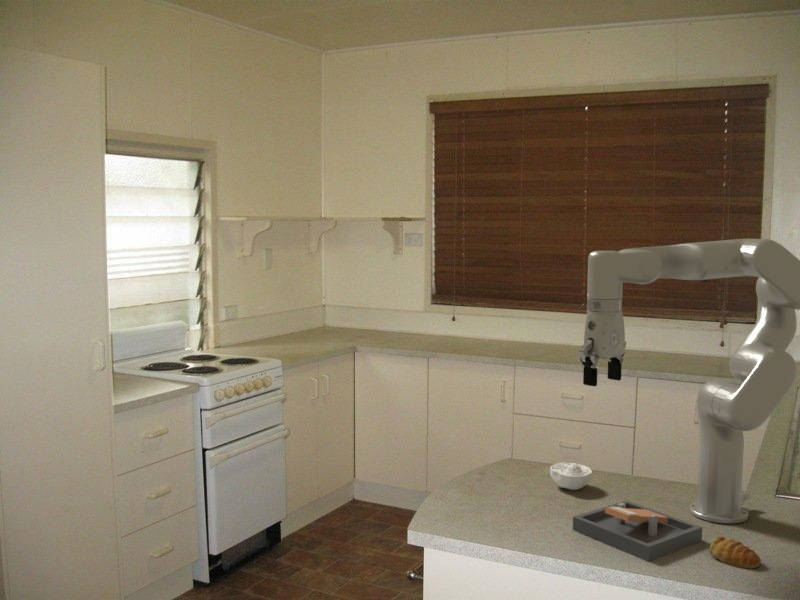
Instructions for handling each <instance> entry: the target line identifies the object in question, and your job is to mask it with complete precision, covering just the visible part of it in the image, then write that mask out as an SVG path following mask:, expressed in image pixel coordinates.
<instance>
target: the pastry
mask: <svg viewBox="0 0 800 600" xmlns="http://www.w3.org/2000/svg"><path fill="white" fill-rule="evenodd" d="M708 553H709V554H710V555H711V556H712V557H713V559H714V560H719V561H720V562H721V563H724V564H728V565H731V566H735V567H739V568H743V569H754V568H755V569H756V568H758V567H759V566H760V563H761V561H762V559H761V558H760V556H759V555H758V554H757V553H756V552H755V551H754V550H753V549H750V547H749V546H746V545H744V544H743V543H742V542H741V541H738V540H737V541H736V540H735V539H733V538H729V539H728V538H725V536H721V535H720V536H717V537H715V538H714V540H712V542H711V544H710V547H709V551H708Z"/></svg>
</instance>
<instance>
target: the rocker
mask: <svg viewBox="0 0 800 600" xmlns="http://www.w3.org/2000/svg"><path fill="white" fill-rule="evenodd" d="M605 507H606V506H605ZM605 513H607V514H609V515H612V516H615V517H617V518H620V519H623V520H625V521H632V522H649V515H652V514H655V515H658V520H657V523H667V522H668V517H665V516H663V515H660V514H657V513H654V512H651V511H648V510H646V509H629V508H620V507H606V508H605Z"/></svg>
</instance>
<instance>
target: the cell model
mask: <svg viewBox="0 0 800 600" xmlns="http://www.w3.org/2000/svg"><path fill="white" fill-rule="evenodd" d="M549 474H550V475H549V476H550V477H551V478H552V480H553V481H554V483H556V485H557V486H558V487H560V488H562V489H566V490H570V491H577V490H580V489H582V488H584V487H585V486H586V485H588V483H590V481H591V479H592V474H593V470H592V469H591V468H590V467H589V466H587V465H584V464H579V463H574V462H568V461H562V462H557V463H555V464H552V465H550V472H549Z"/></svg>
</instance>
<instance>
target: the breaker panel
mask: <svg viewBox="0 0 800 600" xmlns="http://www.w3.org/2000/svg"><path fill="white" fill-rule="evenodd" d="M606 507H620V508H629V509H646V510H648V511H651V512H654V513H657V514H660V515H663V516H665V517H668V522H667V523H657V520H658V515H655V514H652V515H649V522H632V521H625V520H623V519H620V518H617V517H615V516H612V515H609V514H607V513H605V508H606ZM572 530H573V531H574V530H575V531H574V532H577V531H578V532H577V533H579V532H580V534H581V533H582V535H584V536H587V537H589V538H591V539H594V540H596V541H598V542H601V543H603V544H605V545H608V546H611V547H612V548H615V549H618V550H620V551H623V552H625V553H628V554H630V555H632V556H634V557H637V558H639V559H642V560H644V561H647V562H650V561H653V560H656V559H658V558H661V557H664V556H665V555H668V554H671V553H674V552H677V551H680V550H682V549H683V548H687V547H689V546H693V545H695V544H698V543H701V542H702V541H703V527H702V526H701V525H697V524H695V523H692V522H688V521H685V520H683V519H681V518H677V517H675V516H671V515H669V514H665V513H664V512H663V513H662V512H660V511H658V510H654V509H652V508H649V507H647V506H643V505H641V504H638V503H635V502H632V501H630V500H623V501H620V502H616V503H614V504H610V505H607V506H604V507H601V508H597V509H594V510H590V511H587V512H583V513H580V514H577V515H574V516H572Z"/></svg>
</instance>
